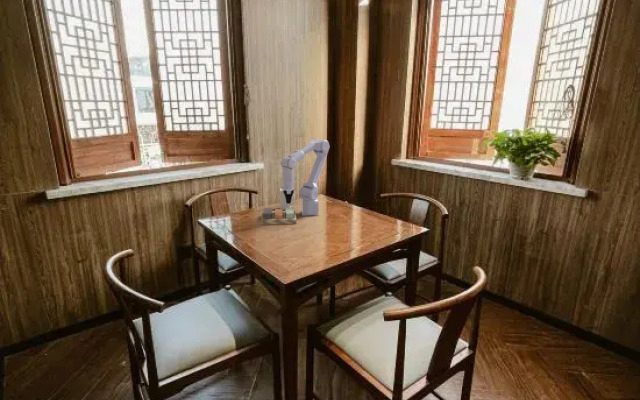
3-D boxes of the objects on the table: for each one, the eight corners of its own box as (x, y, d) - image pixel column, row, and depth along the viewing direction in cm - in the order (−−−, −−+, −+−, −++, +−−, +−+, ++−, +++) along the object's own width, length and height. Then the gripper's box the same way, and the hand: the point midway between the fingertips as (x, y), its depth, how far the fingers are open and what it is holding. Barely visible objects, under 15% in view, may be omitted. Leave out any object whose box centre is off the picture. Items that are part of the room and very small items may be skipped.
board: (295, 215, 203) (295, 211, 202) (296, 223, 188) (296, 219, 188) (262, 215, 200) (262, 211, 200) (261, 224, 186) (261, 219, 185)
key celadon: (292, 214, 200) (292, 207, 199) (293, 220, 190) (293, 213, 189) (285, 214, 200) (285, 207, 199) (286, 220, 189) (286, 213, 188)
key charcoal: (271, 214, 199) (271, 207, 198) (271, 220, 188) (271, 213, 187) (264, 214, 198) (264, 207, 197) (263, 220, 188) (263, 213, 187)
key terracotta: (282, 215, 200) (282, 209, 199) (282, 222, 189) (282, 215, 188) (275, 215, 199) (275, 209, 198) (275, 222, 189) (275, 215, 188)
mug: (277, 209, 213) (277, 190, 210) (282, 206, 219) (282, 187, 216) (292, 211, 209) (292, 192, 206) (297, 208, 215) (297, 189, 212)
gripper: (280, 176, 195) (281, 199, 199) (281, 182, 181) (281, 207, 185) (293, 176, 196) (293, 199, 200) (294, 182, 182) (294, 207, 186)
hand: (288, 203), depth 193 cm, fingers closed
